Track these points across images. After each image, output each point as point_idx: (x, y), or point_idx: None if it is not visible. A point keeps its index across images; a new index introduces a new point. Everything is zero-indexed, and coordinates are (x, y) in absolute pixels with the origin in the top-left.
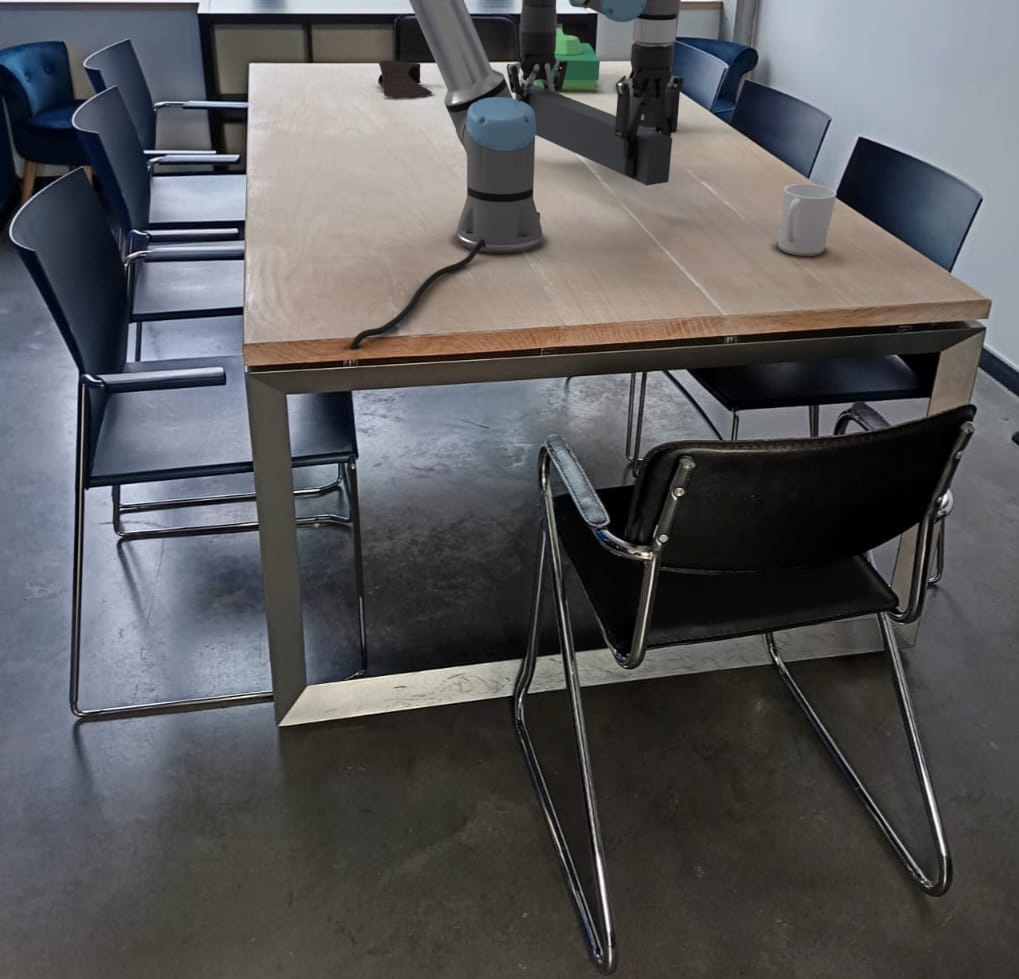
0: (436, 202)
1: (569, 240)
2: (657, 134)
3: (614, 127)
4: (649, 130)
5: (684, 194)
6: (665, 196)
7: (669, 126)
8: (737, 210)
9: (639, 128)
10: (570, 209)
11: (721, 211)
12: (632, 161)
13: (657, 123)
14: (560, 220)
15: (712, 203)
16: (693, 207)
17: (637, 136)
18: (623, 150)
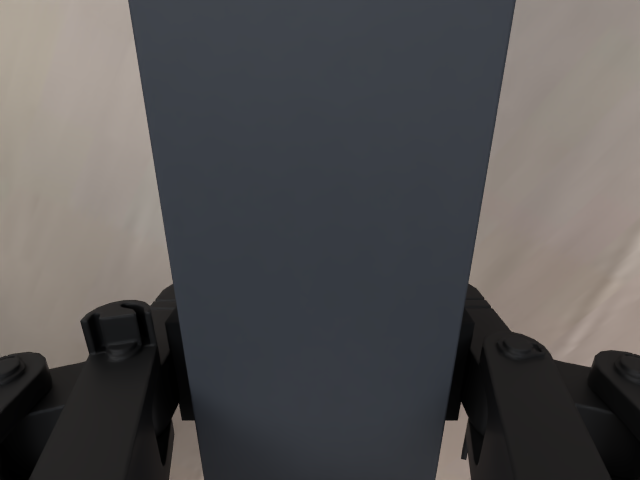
0: None
1: (3, 316)
2: (383, 476)
3: (136, 11)
4: (416, 355)
5: (624, 78)
6: (542, 67)
7: (607, 452)
8: (610, 301)
9: (377, 250)
10: (103, 48)
11: (562, 290)
12: None
13: (491, 467)
14: (26, 150)
15: (611, 215)
16: (522, 223)
17: (199, 440)
18: (151, 310)
